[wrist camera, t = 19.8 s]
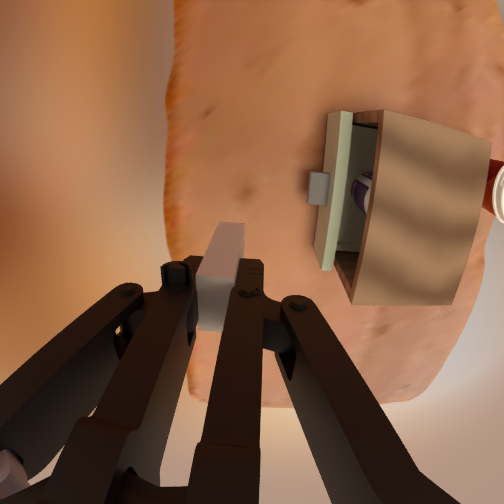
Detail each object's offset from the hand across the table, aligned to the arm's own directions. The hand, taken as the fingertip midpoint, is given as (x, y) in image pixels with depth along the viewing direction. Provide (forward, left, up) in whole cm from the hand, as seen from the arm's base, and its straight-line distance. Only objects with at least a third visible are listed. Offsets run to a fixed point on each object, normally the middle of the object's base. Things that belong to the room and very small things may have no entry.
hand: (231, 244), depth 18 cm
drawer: (0, +15, -24) cm, 29 cm away
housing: (0, +19, -24) cm, 31 cm away
